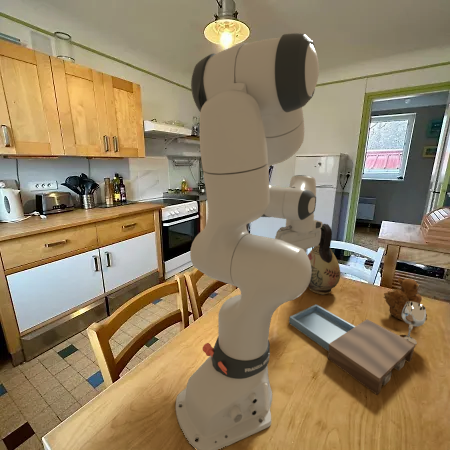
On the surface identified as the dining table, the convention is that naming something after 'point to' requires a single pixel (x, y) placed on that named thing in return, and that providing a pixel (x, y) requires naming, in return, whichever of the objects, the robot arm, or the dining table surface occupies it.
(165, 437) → the dining table surface
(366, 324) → the wooden drawer box
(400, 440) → the dining table surface
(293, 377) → the dining table surface
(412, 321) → the wineglass
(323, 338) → the tray
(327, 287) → the ceramic jug
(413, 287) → the stuffed squirrel
